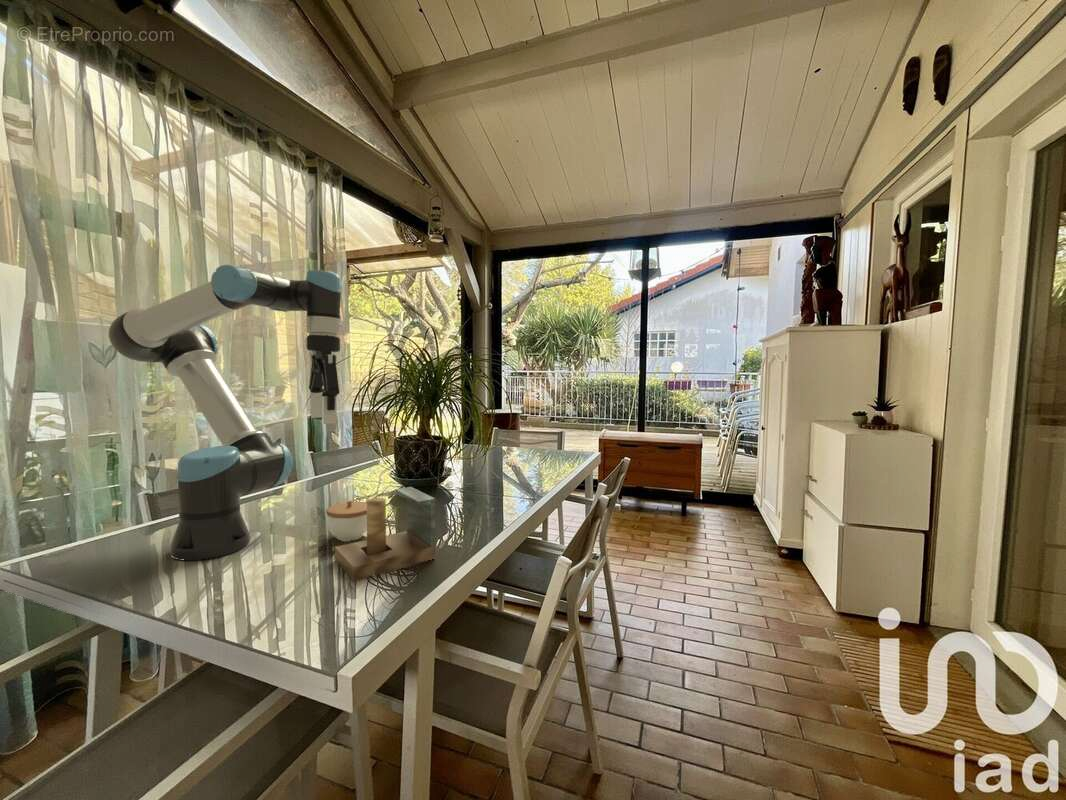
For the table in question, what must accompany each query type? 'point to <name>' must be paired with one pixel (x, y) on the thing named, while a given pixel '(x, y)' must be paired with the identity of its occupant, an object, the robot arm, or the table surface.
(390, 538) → the socket block
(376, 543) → the oak peg
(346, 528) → the lidded jar
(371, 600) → the table surface
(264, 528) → the table surface
